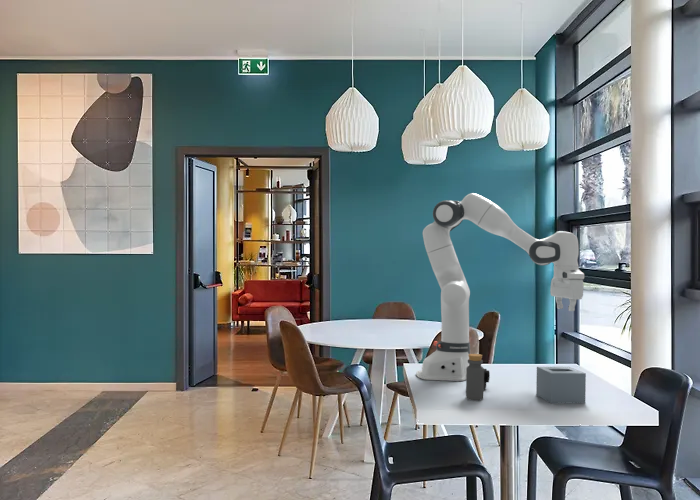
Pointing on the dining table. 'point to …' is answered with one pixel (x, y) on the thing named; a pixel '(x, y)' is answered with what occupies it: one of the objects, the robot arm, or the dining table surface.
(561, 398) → the box
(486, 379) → the digital camera
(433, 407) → the dining table surface
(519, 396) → the dining table surface
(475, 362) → the bottle
